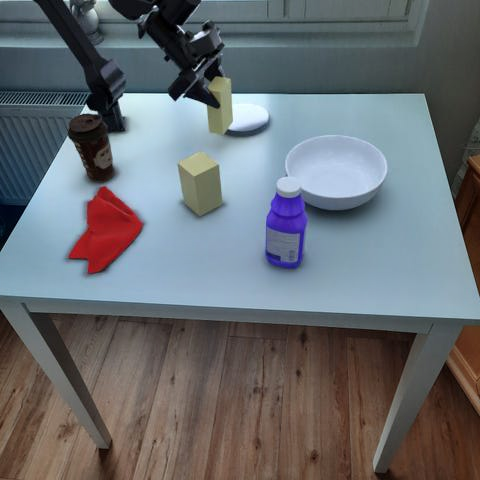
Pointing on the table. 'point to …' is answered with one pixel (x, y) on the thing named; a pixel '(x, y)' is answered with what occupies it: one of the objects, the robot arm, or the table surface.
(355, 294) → the table surface
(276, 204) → the bottle
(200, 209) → the butter block
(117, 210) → the cloth
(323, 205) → the serving bowl
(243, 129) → the saucer
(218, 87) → the butter slice
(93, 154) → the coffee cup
